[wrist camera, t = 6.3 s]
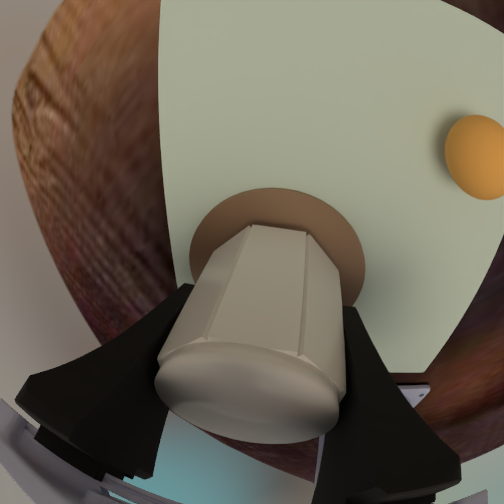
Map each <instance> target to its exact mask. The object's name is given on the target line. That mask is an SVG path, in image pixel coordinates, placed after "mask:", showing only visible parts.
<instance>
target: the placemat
mask: <svg viewBox="0 0 504 504" xmlns="http://www.w3.org/2000/svg"><path fill="white" fill-rule="evenodd" d="M158 91H159V124H160V143H161V157H162V170H163V181H164V192H165V201H166V210H167V219H168V227H169V234H170V242H171V249H172V256H173V262H174V269H175V275H176V281H177V287H178V288H179V287H180V286H181V285H182V284H184V283H188V284H194V285H195V283H194V280H193V277H192V274H191V270H190V265H189V251H190V245H191V241H192V238H193V235H194V233H195V231H196V229H197V227H198V226H199V224H200V223H201V221H202V220H203V218H204V217H205V216H206V215H207V214H208V213H209V212H210V211H211V210H212V209H213V208H214V207H215V206H217V205H218V204H219V203H220V202H222V201H224V200H225V199H227V198H229V197H231V196H233V195H236V194H238V193H241V192H244V191H248V190H253V189H259V188H285V189H291V190H297V191H300V192H303V193H306V194H309V195H312V196H314V197H316V198H318V199H320V200H322V201H324V202H326V203H327V204H329V205H330V206H332V207H333V208H334V209H336V210H337V211H338V212H339V213H340V214H341V215H342V216H343V217H344V218H345V219H346V220H347V221H348V222H349V224H350V225H351V226H352V228H353V229H354V231H355V233H356V234H357V236H358V238H359V241H360V243H361V246H362V250H363V254H364V258H365V268H366V269H365V279H364V283H363V287H362V290H361V292H360V294H359V297H358V298H357V300H356V301H355V303H354V305H353V306H352V307H356V309H357V311H358V313H359V315H360V317H361V319H362V321H363V324H364V326H365V328H366V330H367V332H368V334H369V336H370V338H371V340H372V342H373V344H374V346H375V348H376V350H377V351H378V353H379V355H380V357H381V359H382V361H383V362H384V364H385V366H386V368H387V369H388V371H389V372H424V371H425V370H426V369H427V367H428V366H429V365H430V363H431V362H432V361H433V359H434V358H435V357H436V355H437V354H438V353H439V351H440V350H441V348H442V347H443V346H444V344H445V343H446V341H447V340H448V338H449V337H450V335H451V334H452V332H453V331H454V329H455V328H456V326H457V325H458V323H459V321H460V320H461V318H462V317H463V315H464V313H465V312H466V310H467V308H468V307H469V305H470V303H471V301H472V300H473V298H474V296H475V294H476V292H477V290H478V289H479V287H480V285H481V283H482V281H483V279H484V277H485V275H486V273H487V271H488V269H489V267H490V264H491V262H492V260H493V258H494V256H495V253H496V251H497V249H498V246H499V244H500V242H501V239H502V237H503V234H504V195H503V196H501V197H499V198H497V199H494V200H480V199H477V198H474V197H472V196H470V195H468V194H467V193H465V192H464V191H463V190H462V189H461V188H460V187H459V186H458V185H457V184H456V182H455V181H454V180H453V178H452V176H451V174H450V172H449V170H448V167H447V164H446V159H445V143H446V139H447V136H448V133H449V131H450V129H451V128H452V126H453V125H454V124H455V123H456V122H457V121H458V120H460V119H462V118H463V117H466V116H469V115H482V116H486V117H489V118H491V119H493V120H495V121H496V122H498V123H499V124H500V125H501V126H502V127H503V128H504V34H503V33H501V32H500V31H498V30H496V29H495V28H493V27H492V26H490V25H488V24H486V23H485V22H483V21H481V20H479V19H478V18H476V17H474V16H472V15H470V14H468V13H466V12H464V11H462V10H460V9H458V8H456V7H454V6H452V5H449V4H447V3H445V2H443V1H440V0H161V11H160V27H159V58H158Z"/></svg>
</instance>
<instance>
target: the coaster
mask: <svg viewBox="0 0 504 504" xmlns="http://www.w3.org/2000/svg"><path fill="white" fill-rule="evenodd" d="M252 225H261V226H268V227H275V228H282V229H289V230H296V231H303V232H306V236H307V235H308V234H310V235H311V236H312V237H313V239H314V240H315V241H316V242H317V244H318V245H319V246H320V247H321V249H322V250H323V251H324V252H325V254H326V255H327V256H328V257H329V259H330V260H331V261H332V262H333V264H334V265H335V266H336V268H337V269H338V271H339V277H340V287H341V298H342V305H343V306H353V305H354V303H355V301H356V300H357V298H358V297H359V294H360V292H361V290H362V287H363V283H364V279H365V269H366V268H365V258H364V254H363V250H362V246H361V243H360V241H359V238H358V236H357V234H356V233H355V231H354V229H353V228H352V226H351V225H350V224H349V222H348V221H347V220H346V219H345V218H344V217H343V216H342V215H341V214H340V213H339V212H338V211H337V210H336V209H334V208H333V207H332V206H330V205H329V204H327V203H326V202H324V201H322V200H320V199H318V198H316V197H314V196H312V195H309V194H306V193H303V192H300V191H297V190H291V189H285V188H259V189H253V190H248V191H244V192H241V193H238V194H236V195H233V196H231V197H229V198H227V199H225V200H224V201H222V202H220V203H219V204H218V205H217V206H215V207H214V208H213V209H212V210H211V211H210V212H209V213H208V214H207V215H206V216H205V217H204V218H203V220H202V221H201V223H200V224H199V226H198V227H197V229H196V231H195V233H194V235H193V238H192V241H191V245H190V251H189V265H190V270H191V274H192V277H193V280H194V283H195V285H196V283H197V281H198V279H199V277H200V275H201V274H202V272H203V270H204V268H205V266H206V264H207V263H208V261H209V259H210V257H211V255H212V254H213V252H214V251H215V250H216V249H218V248H219V247H220V246H222V245H223V244H224V243H226V242H227V241H228V240H230V239H231V238H233V237H234V236H235V235H237V234H238V233H239V232H241V231H242V230H243V229H245V228H246V227H247V226H250V227H252Z"/></svg>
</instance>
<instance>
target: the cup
mask: <svg viewBox="0 0 504 504" xmlns="http://www.w3.org/2000/svg"><path fill="white" fill-rule="evenodd" d="M342 311H343V310H342V298H341V287H340V277H339V271H338V269H337V268H336V266H335V265H334V264H333V262H332V261H331V260H330V259H329V257H328V256H327V255H326V254H325V252H324V251H323V250H322V249H321V247H320V246H319V245H318V244H317V242H316V241H315V240H314V239H313V237H312V236H311V235H310V234H308V235H307V236H306V232H303V231H296V230H289V229H282V228H275V227H268V226H261V225H252V227H250V226H247V227H246V228H245V229H243V230H242V231H241V232H239V233H238V234H237V235H235V236H234V237H233V238H231V239H230V240H228V241H227V242H226V243H224V244H223V245H222V246H220V247H219V248H218V249H216V250H215V251H214V252H213V254H212V255H211V257H210V259H209V261H208V263H207V264H206V266H205V268H204V270H203V272H202V274H201V275H200V277H199V279H198V281H197V283H196V285H195V286H194V288H193V290H192V292H191V294H190V296H189V298H188V300H187V301H186V303H185V305H184V307H183V309H182V311H181V313H180V315H179V317H178V318H177V320H176V322H175V324H174V326H173V328H172V330H171V332H170V334H169V336H168V338H167V340H166V342H165V344H164V346H163V347H162V349H161V351H160V353H159V355H158V358H157V360H158V363H159V366H160V369H159V371H158V373H157V375H156V377H155V381H154V385H155V389H156V392H157V394H158V396H159V397H160V399H161V400H162V401H163V402H164V403H165V404H166V405H167V406H168V407H169V408H170V409H171V410H172V411H173V412H175V413H176V414H177V415H179V416H180V417H182V418H183V419H185V420H187V421H188V422H190V423H192V424H194V425H196V426H198V427H200V428H202V429H205V430H207V431H210V432H212V433H215V434H218V435H221V436H225V437H228V438H232V439H237V440H241V441H247V442H254V443H265V444H286V443H296V442H301V441H306V440H310V439H313V438H316V437H319V436H321V435H323V434H325V433H327V432H328V431H330V430H331V429H332V428H333V427H334V426H335V425H336V423H337V422H338V418H339V403H340V401H341V400H342V398H343V397H344V395H345V394H346V365H345V341H344V329H343V314H342Z"/></svg>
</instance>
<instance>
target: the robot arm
mask: <svg viewBox="0 0 504 504" xmlns="http://www.w3.org/2000/svg"><path fill="white" fill-rule="evenodd" d="M194 286H195V285H194V284H188V283H184V284H182V285H181V286H180V287H179V288H178V289H176V290H175V291H174V292H173V293H172V294H171V295H169V296H168V297H167V298H166V299H165V300H164V301H162V302H161V303H160V304H159V305H158V306H156V307H155V308H154V309H153V310H152V311H150V312H149V313H148V314H147V315H145V316H144V317H143V318H142V319H140V320H139V321H138V322H136V323H135V324H134V325H132V326H131V327H130V328H128V329H127V330H126V331H124V332H123V333H121V334H120V335H118V336H117V337H115V338H114V339H112V340H111V341H109V342H107V343H106V344H104V345H102V346H101V347H99V348H97V349H95V350H93V351H91V352H89V353H87V354H85V355H84V356H82V357H80V358H77V359H75V360H73V361H71V362H68V363H66V364H63V365H61V366H58V367H56V368H53V369H50V370H47V371H43V372H40V373H37V374H33V375H30V376H29V378H28V379H27V381H26V382H25V384H24V385H23V387H22V389H21V390H20V392H19V393H18V395H17V396H16V398H15V402H16V404H17V405H18V406H19V407H21V408H22V409H23V410H24V411H25V412H26V413H27V414H28V415H30V416H31V417H32V418H33V419H34V420H36V421H37V422H38V423H39V424H40V428H39V429H37V428H35V427H34V426H33V425H32V424H30V423H29V422H28V421H27V420H26V419H24V418H23V417H22V416H21V415H20V414H18V413H17V412H16V411H15V410H14V409H13V408H12V407H10V406H9V405H8V404H7V403H6V402H5V401H4V400H3V399H0V464H1V465H2V466H3V467H4V469H5V470H6V471H7V472H8V474H9V475H10V476H11V478H12V479H13V480H14V481H15V482H16V484H17V485H18V486H19V487H20V488H21V489H22V490H23V492H24V493H25V494H26V495H27V496H28V497H29V498H30V499H31V500H32V501H33V502H34V503H35V504H130V503H127V502H125V501H122V500H120V499H117V498H114V497H112V496H110V495H109V492H108V490H109V491H111V492H113V493H115V494H117V495H119V496H121V497H123V498H125V499H128V500H130V501H132V502H134V503H137V504H181V503H179V502H175V501H173V500H170V499H166V498H163V497H161V496H158V495H156V494H153V493H150V492H148V491H145V490H143V489H140V488H138V487H136V486H133V485H131V484H129V483H126V482H124V481H123V478H124V476H126V477H128V478H130V479H133V478H134V475H135V476H137V477H139V478H142V479H148V478H150V477H153V471H154V466H155V460H156V456H157V452H158V448H159V443H160V439H161V435H162V432H163V428H164V425H165V421H166V417H167V414H168V411H169V407H168V406H167V405H166V404H165V403H164V402H163V401H162V400H161V399H160V397H159V396H158V394H157V392H156V389H155V385H154V381H155V377H156V375H157V373H158V371H159V369H160V366H159V363H158V360H157V358H158V355H159V353H160V351H161V349H162V347H163V346H164V344H165V342H166V340H167V338H168V336H169V334H170V332H171V330H172V328H173V326H174V324H175V322H176V320H177V318H178V317H179V315H180V313H181V311H182V309H183V307H184V305H185V303H186V301H187V300H188V298H189V296H190V294H191V292H192V290H193V288H194ZM342 310H343V311H342V314H343V329H344V341H345V365H346V394H345V395H344V397H343V398H342V400H341V401H340V403H339V418H338V422H337V423H336V425H335V426H334V427H333V428H332V429H331V430H330V431H328V432H327V433H325V434H323V435H321V436H320V438H319V448H318V458H317V467H316V476H315V491H314V495H313V499H312V503H311V504H434V503H432V502H435V499H436V498H435V496H436V493H437V492H440V491H442V490H445V489H447V488H450V487H452V486H454V485H456V484H458V483H459V482H460V481H461V479H462V478H461V464H460V457H459V455H458V454H456V453H455V452H454V451H453V450H452V449H451V448H450V447H449V446H448V445H447V444H445V443H444V442H443V441H442V440H441V439H440V438H439V437H438V436H437V435H436V434H435V433H434V432H433V431H432V429H431V428H430V427H429V426H428V425H427V424H426V423H425V421H424V420H423V419H422V418H421V417H420V415H419V414H418V413H417V412H416V411H415V409H414V407H415V406H416V405H417V404H418V403H419V402H420V401H421V400H422V399H423V398H424V397H425V396H426V395H427V394H428V392H429V391H430V386H429V385H402V386H397V384H396V383H395V381H394V379H393V378H392V376H391V375H390V373H389V371H388V369H387V368H386V366H385V364H384V362H383V361H382V359H381V357H380V355H379V353H378V351H377V350H376V348H375V346H374V344H373V342H372V340H371V338H370V336H369V334H368V332H367V330H366V328H365V326H364V324H363V321H362V319H361V317H360V315H359V313H358V311H357V309H356V307H352V306H343V305H342ZM449 504H488V496H487V490H483V491H481V492H479V493H476V494H473V495H471V496H468V497H466V498H463V499H460V500H458V501H454V502H452V503H449Z"/></svg>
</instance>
